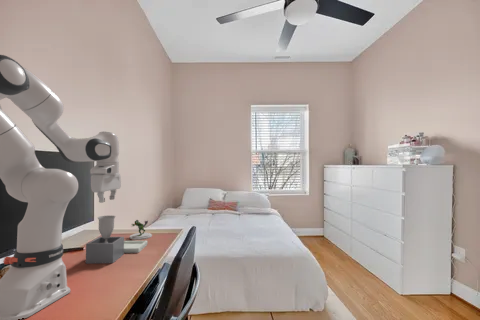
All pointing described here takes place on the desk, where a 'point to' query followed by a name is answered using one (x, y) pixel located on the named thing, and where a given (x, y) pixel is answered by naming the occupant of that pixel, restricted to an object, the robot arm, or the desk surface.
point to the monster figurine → (139, 235)
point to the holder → (104, 250)
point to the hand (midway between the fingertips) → (107, 200)
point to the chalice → (106, 226)
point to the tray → (134, 246)
